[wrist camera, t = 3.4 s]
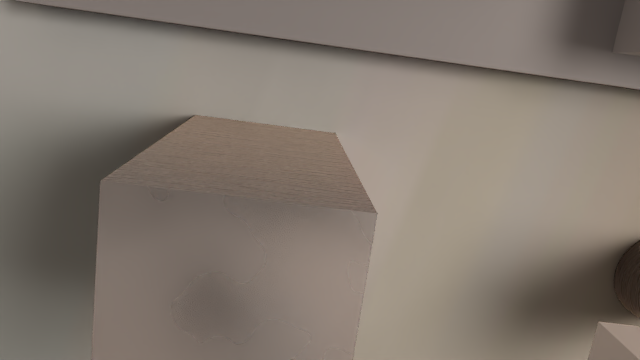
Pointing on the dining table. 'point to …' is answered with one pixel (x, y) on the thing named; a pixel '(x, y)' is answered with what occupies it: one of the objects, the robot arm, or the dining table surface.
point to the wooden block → (232, 247)
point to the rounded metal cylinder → (629, 280)
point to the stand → (429, 30)
